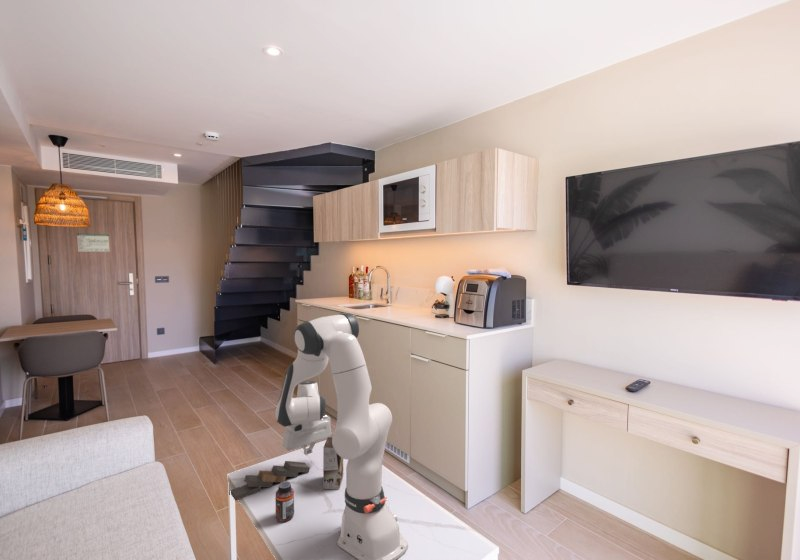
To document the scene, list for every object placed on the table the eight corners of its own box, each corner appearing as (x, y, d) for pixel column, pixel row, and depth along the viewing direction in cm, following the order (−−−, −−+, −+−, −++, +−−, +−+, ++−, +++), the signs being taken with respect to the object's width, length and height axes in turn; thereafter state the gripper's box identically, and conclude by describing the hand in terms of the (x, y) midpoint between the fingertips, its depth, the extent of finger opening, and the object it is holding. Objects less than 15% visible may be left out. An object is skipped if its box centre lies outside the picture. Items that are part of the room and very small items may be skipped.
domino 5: (310, 467, 159) (290, 466, 154) (308, 472, 159) (288, 471, 153) (304, 462, 163) (285, 460, 157) (302, 467, 163) (283, 466, 157)
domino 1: (260, 486, 146) (235, 496, 140) (260, 491, 146) (235, 501, 140) (255, 480, 150) (230, 489, 144) (255, 485, 150) (230, 495, 144)
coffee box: (339, 489, 147) (339, 447, 146) (322, 489, 148) (322, 447, 147) (343, 476, 156) (343, 436, 156) (327, 475, 157) (327, 436, 156)
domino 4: (298, 471, 156) (278, 470, 150) (296, 477, 156) (276, 476, 150) (293, 466, 160) (273, 465, 154) (291, 471, 159) (271, 470, 154)
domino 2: (273, 481, 149) (250, 480, 143) (271, 487, 149) (248, 486, 143) (267, 475, 153) (246, 475, 147) (265, 481, 152) (244, 480, 147)
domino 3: (286, 476, 152) (265, 476, 147) (284, 482, 152) (263, 481, 146) (280, 471, 156) (259, 470, 150) (278, 476, 156) (257, 475, 150)
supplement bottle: (272, 516, 132) (272, 483, 131) (289, 508, 136) (289, 477, 135) (280, 525, 128) (279, 491, 127) (297, 517, 131) (296, 484, 131)
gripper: (326, 411, 169) (326, 443, 170) (281, 424, 156) (281, 458, 157) (334, 416, 165) (334, 448, 165) (288, 429, 151) (288, 464, 152)
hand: (308, 453), depth 161 cm, fingers closed
